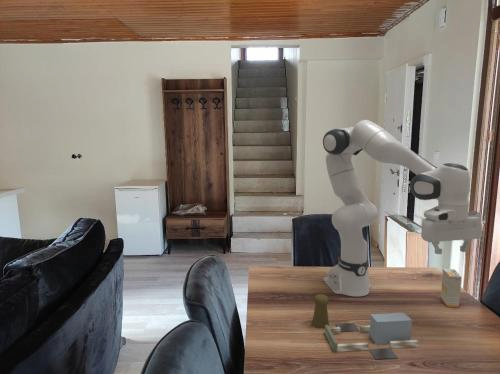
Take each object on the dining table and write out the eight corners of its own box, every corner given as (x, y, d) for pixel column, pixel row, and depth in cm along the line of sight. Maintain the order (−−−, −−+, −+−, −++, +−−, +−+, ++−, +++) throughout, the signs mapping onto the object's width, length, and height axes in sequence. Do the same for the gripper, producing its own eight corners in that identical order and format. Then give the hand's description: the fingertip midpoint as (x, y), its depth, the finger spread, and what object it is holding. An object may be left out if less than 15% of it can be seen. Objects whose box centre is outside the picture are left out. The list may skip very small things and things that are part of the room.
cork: (310, 320, 135) (311, 292, 134) (326, 319, 136) (327, 291, 134) (314, 328, 129) (315, 300, 128) (331, 327, 130) (332, 299, 128)
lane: (394, 321, 134) (395, 314, 133) (426, 356, 113) (427, 347, 113) (320, 325, 132) (320, 317, 131) (339, 361, 111) (339, 352, 110)
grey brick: (403, 334, 126) (404, 312, 125) (410, 342, 121) (412, 320, 120) (369, 335, 125) (370, 314, 124) (375, 344, 120) (376, 322, 119)
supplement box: (459, 308, 144) (462, 276, 142) (446, 306, 145) (449, 275, 142) (452, 298, 152) (455, 268, 150) (440, 297, 153) (442, 268, 150)
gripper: (473, 208, 125) (471, 247, 127) (419, 212, 122) (417, 251, 124) (488, 212, 118) (485, 253, 120) (431, 216, 116) (429, 257, 117)
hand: (450, 252), depth 122 cm, fingers open, 8 cm apart
